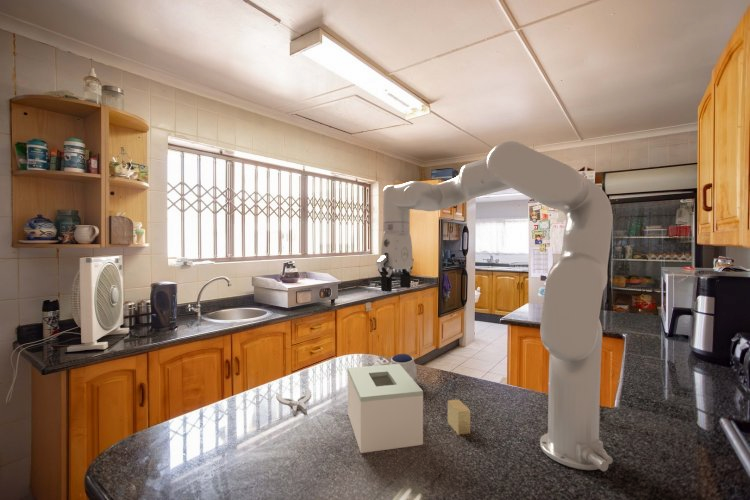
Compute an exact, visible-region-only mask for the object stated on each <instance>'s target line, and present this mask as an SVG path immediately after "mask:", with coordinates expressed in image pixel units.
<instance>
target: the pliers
mask: <svg viewBox="0 0 750 500" xmlns="http://www.w3.org/2000/svg"><path fill="white" fill-rule="evenodd" d="M311 396H312V391H311V389H310V388H309V387H307V388H306V394H303V395H302V396H300V397H299V398H298V399H297V400H295V399H292V398H287V397H286V398H284V397H282V396H281V394H280V393H279V392H276V396H275V397H276V399H277V401H278V402H280V403H281V404H282V405H287V406H289V407H292V413H293V414H292V415H293V416H296V415H297V411H298V410H300V411H302V413H304V414H307V413H308V409H307V406H306V403H307V402H308V401H309V400H310V398H311Z"/></svg>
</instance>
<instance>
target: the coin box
mask: <svg viewBox="0 0 750 500" xmlns="http://www.w3.org/2000/svg"><path fill="white" fill-rule="evenodd" d="M347 415H348V418H349V421H350V424H351V428H352V430H353V434H354V436H355V440H356V443H357V446H358V449H359V453H360V454H363V453H372V452H380V451H385V450H386V451H387V450H394V449H401V448H408V447H415V446H416V447H417V446H423V444H424V390H423V389H422V388H421V387H420V386H419V385H418V384H417V382H416V381H415V379H414V380H413V379H412V378H411V377H410V375H409V374H408V373H407V372H406V371H405V370H404V369H403V367H402V366H401V365H400V364H391V365H378V366H367V365H366V366H356V367H347Z"/></svg>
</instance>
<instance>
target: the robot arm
mask: <svg viewBox="0 0 750 500" xmlns="http://www.w3.org/2000/svg"><path fill="white" fill-rule="evenodd" d="M508 189H512V190H515V191H516V192H519V193H520V194H523V195H524V196H526V197H528V198H529V199H532V200H533V201H535V202H537V203H539V204H541V205H543V206H545V207H547V208H551V209H553V210H558V211H561V212H562V213H564V215H565V225H564V229H563V237H562V239H563V240H562V247H561V255H560V258H559V259H558V260H556V261H555V262H554V263H553V264H552V266H551V267H550V269H549V271H548V273H547V276H546V281H545V285H544V286H545V287H544V288H545V289H544V294H543V295H544V296H543V305H542V311H541V319H540V327H539V328H540V329H539V334H540V339H541V342H542V344H543V346H544V348H545V349H546V350H547V352H548V353H549V358H548V359H549V361H548V363H549V364H548V401H547V402H548V405H547V407H548V409H547V411H548V413H547V432H546V433H545V434H543V435H542V436H541V437H540V438H539V439H540V440H539V447H540V449H541V451H542V452H543V453H544V454H545V455H546V456H547V457H549V459H552V460H553V461H555V462H557V463H559V464H560V465H564V466H566V467H569V468H573V469H577V470H584V471H585V470H586V471H596V470H600V471H602V472H606V471H608V469H609V465H612V463H613V462H614V458H612V456H610V455H609V454H608V453H607V451H606V450H605V449H604V442H603V441H602V440H600V399H601V398H600V397H601V396H600V394H601V392H600V391H601V366H602V365H601V364H602V350H603V349H602V346H603V345H602V344H603V326H602V323H601V320H600V314H601V308H602V301H603V296H604V295H603V294H604V291H605V288H606V287H607V284H608V265H609V258H610V252H611V251H610V250H611V241H612V240H611V239H612V231H613V217H614V215H613V210H612V209H613V208H612V204H611V201H610V199H609V198H608V196H607V194H606V193H605V191H604V190H603V189H602V188H601V187H600V186H599V185H598V184H596V183H595V182H593V181H592V180H589V178H586V177H585V176H583V175H582V174H580V173H579V171H578V170H577V169H575V168H573V167H572V166H570V165H568V164H566V163H565V162H562V161H560V160H557V159H555V158H552V157H551V156H548V155H546V154H544V153H541V152H539V151H537V150H535V149H533V148H531V147H529V146H527V145H525V144H523V143H521V142H518V141H514V140H507V141H503V142H500V143H499V144H497V145H496V146H494V147H493V148H492V149H491V150H490V151H489V153H488V155H487V156H486V157H484V158H482V159H481V158H480V159H479V160H475V161H472V162H468V163H466V164H463V165H462V167H461V168H460V170H459V173H458V175H457V176H456V177H454V178H451V179H448V180H446V181H442V182H439V183H436V184H435V183H434V184H432V183H427V182H424V181H418V180H413V181H408V182H405V183H401V184H390V185H386V186H384V188H383V190H382V194H383V195H382V202H383V203H382V216H383V217H382V228H383V229H382V230H383V231H382V240H381V248H380V251H381V252H380V258H379V259H378V260H376V266H377V271H378V273H379V277H380V278H381V279H380V280H381V281H380V286H381V287H380V290H381V292H388V293H390V292H392V290H393V285H392V284H393V277H392V276H391V275H392V273H393V271H394V270H396V271H398V270H400V272H401V273H400V276H399V277H400V279H399V281H400V284H399V285H400V288H406V289H410V288H411V284H412V283H411V282H412V281H411V280H412V279H411V275H412V272H413V271H412V269H413V265H414V258H413V247H412V246H413V245H412V236H411V234H410V232H411V231H410V230H411V229H410V227H411V226H410V223H411V219H410V217H411V214H410V212H411V211H410V210H415V211H423V212H424V211H425V212H435V211H440V210H441V211H442V210H445V209H449V208H452V207H455V206H458V205H461V204H463V203H466V202H469V201H470V200H473V199H476V198H479V197H483V196H487V195H489V194H494V193H498V192H501V191H506V190H508Z"/></svg>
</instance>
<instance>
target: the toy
mask: <svg viewBox="0 0 750 500" xmlns="http://www.w3.org/2000/svg"><path fill="white" fill-rule="evenodd" d="M391 364H400V365H401V366H402V367H403V369H404V370H405V371H406V372H407V373H408V374H409V375H410V377H411V378H412V379H413V380H414V381H415V379H416V377H417V373H418V369H417V365H416V362H415V360H414V357H413V356H412V355H409V354H407V353H398V354H395V355H393V356H392V357H391V358H390V361H389V360H388V359H386V358H385V357H379V358H377V359H376V362H375V363H373V362H372V361H368V362H367V364H366V366H378V365H391Z"/></svg>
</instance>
